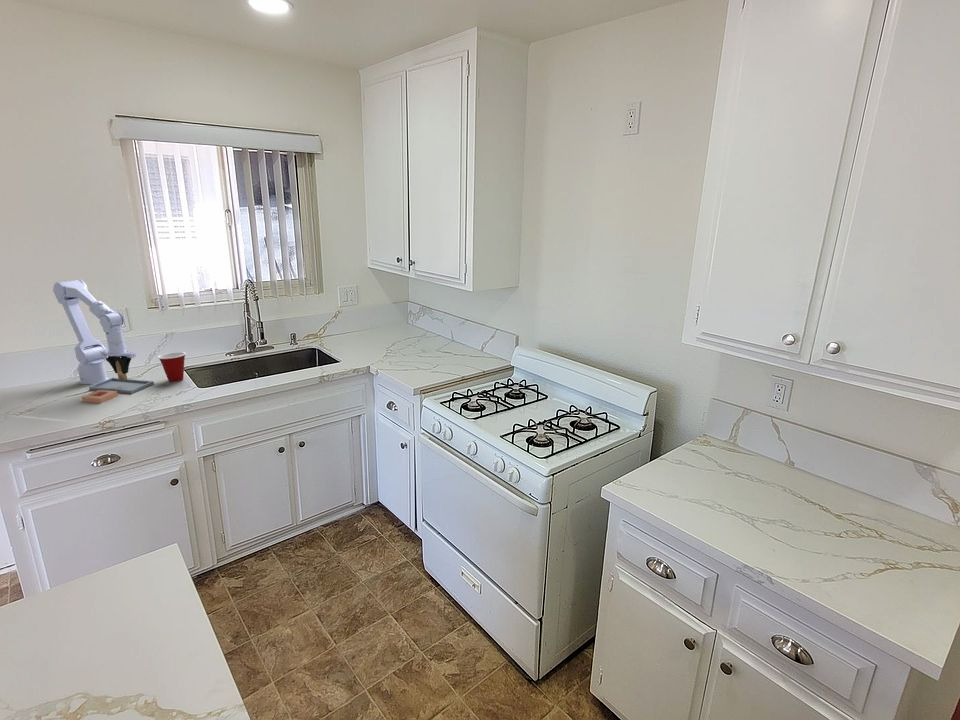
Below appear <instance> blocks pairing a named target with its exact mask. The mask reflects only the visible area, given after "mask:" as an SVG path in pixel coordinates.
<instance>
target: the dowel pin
mask: <svg viewBox="0 0 960 720" xmlns="http://www.w3.org/2000/svg"><path fill="white" fill-rule="evenodd" d="M115 364H116V369H117V373H116V374H117V378H118V379H119V381H123V380H127V379H128V376H127V375H128V374H127V373H126V374H123V373H122V370H121V366H120V364H119V362H118V361H116V362H115Z"/></svg>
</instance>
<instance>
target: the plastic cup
mask: <svg viewBox="0 0 960 720" xmlns="http://www.w3.org/2000/svg"><path fill="white" fill-rule="evenodd" d="M185 356H186V352H184V351H178V352H177V351H175V352H168V353H163V354H160V355H158V356H157V358H158V359H159V361H160V363H161V365H162V368H163V371H164V373H165V376H166V377H167V381H168V382H170V383H177V382H180V381H183V380H184V373H185V359H186V357H185Z"/></svg>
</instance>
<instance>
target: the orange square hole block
mask: <svg viewBox="0 0 960 720" xmlns="http://www.w3.org/2000/svg"><path fill="white" fill-rule="evenodd" d="M116 397H119V393H117V391H109V390H97V391H95V390H94V391H92V392H90V393H87V394H85V395H83V396H81V400H82V402H84V403H95V404H103V403H105V402H107V401H109V400H112V399H113V398H116Z"/></svg>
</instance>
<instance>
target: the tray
mask: <svg viewBox="0 0 960 720" xmlns="http://www.w3.org/2000/svg"><path fill="white" fill-rule="evenodd" d="M109 378H110V379H108V380H105V381H103V382H100V383H98V384H92V385H90V386H89V387H88V389H89V391H94V392H95V391H97V390H109V391H117V393H118V394H126V395H133V394H136V393H137V392H140V391H143V390H145V389H146V388H149V387H151V386H154V385H155V382H154V381H153V380H143V379H133V378H127V380H123V381H119V379H118V377H109Z"/></svg>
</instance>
